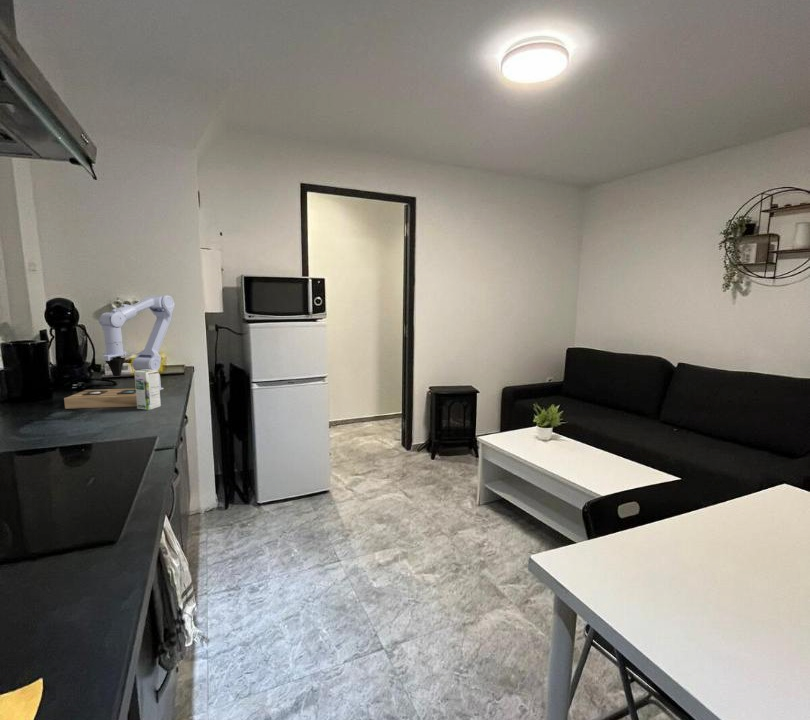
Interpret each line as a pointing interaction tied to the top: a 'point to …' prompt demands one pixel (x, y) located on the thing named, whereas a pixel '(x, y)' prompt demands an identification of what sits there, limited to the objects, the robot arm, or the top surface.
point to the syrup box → (147, 389)
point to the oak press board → (101, 399)
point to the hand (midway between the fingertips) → (117, 375)
